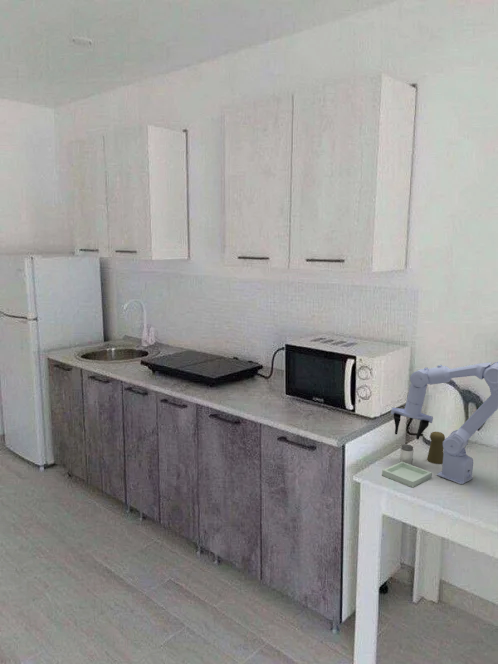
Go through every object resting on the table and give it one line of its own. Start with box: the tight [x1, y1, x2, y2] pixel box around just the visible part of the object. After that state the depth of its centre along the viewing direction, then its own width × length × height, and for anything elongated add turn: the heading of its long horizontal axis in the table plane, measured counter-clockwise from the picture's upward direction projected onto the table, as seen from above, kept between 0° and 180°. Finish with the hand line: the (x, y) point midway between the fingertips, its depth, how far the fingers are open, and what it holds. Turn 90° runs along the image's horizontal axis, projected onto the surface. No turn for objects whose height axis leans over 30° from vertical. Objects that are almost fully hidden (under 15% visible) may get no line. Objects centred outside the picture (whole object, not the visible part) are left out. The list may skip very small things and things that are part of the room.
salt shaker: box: [399, 443, 414, 465], centre depth 191 cm, size 4×4×7 cm
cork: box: [426, 431, 446, 465], centre depth 195 cm, size 6×6×11 cm
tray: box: [381, 461, 433, 488], centre depth 181 cm, size 12×12×2 cm
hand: (406, 435), depth 190 cm, fingers open, 7 cm apart
